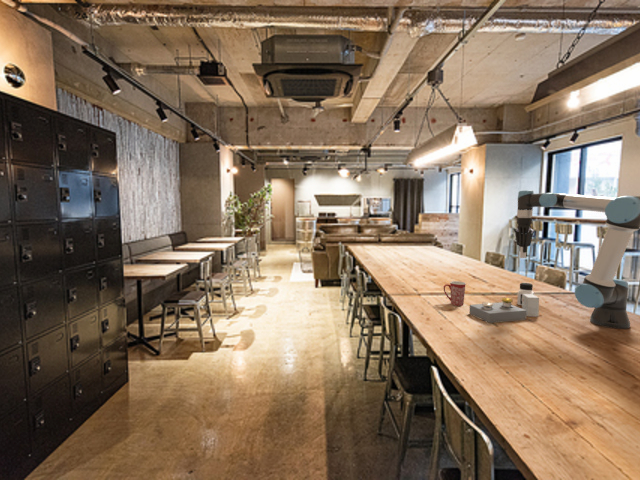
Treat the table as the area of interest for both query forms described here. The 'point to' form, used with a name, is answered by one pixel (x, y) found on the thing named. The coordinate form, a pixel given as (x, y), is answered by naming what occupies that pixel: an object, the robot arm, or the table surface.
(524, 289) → the container
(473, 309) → the block
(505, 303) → the gold lidded glass jar
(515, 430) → the table surface
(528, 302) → the small box
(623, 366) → the table surface
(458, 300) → the mug
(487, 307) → the plug cream
